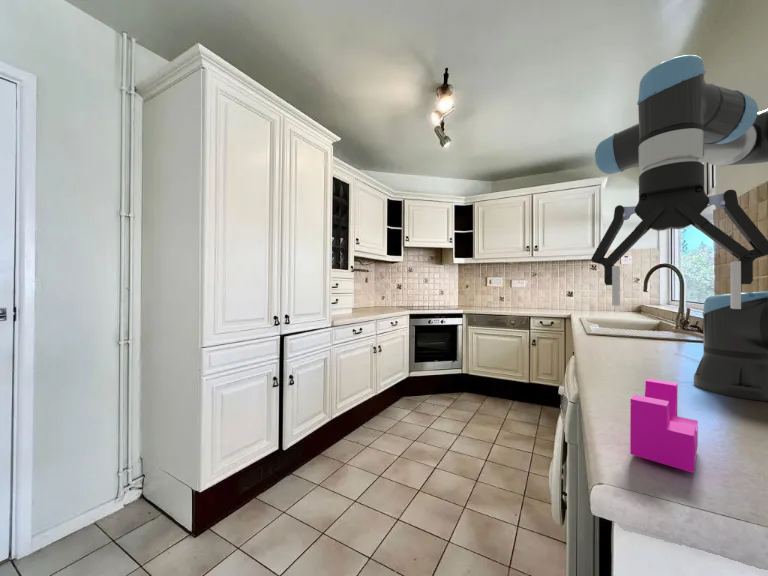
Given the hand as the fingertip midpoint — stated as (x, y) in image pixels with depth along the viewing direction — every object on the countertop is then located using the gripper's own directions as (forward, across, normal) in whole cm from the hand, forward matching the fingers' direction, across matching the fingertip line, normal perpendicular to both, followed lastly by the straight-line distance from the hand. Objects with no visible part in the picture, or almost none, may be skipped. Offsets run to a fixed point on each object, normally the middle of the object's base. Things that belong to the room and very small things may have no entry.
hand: (670, 307), depth 50 cm
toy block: (+20, 0, +4) cm, 20 cm away
